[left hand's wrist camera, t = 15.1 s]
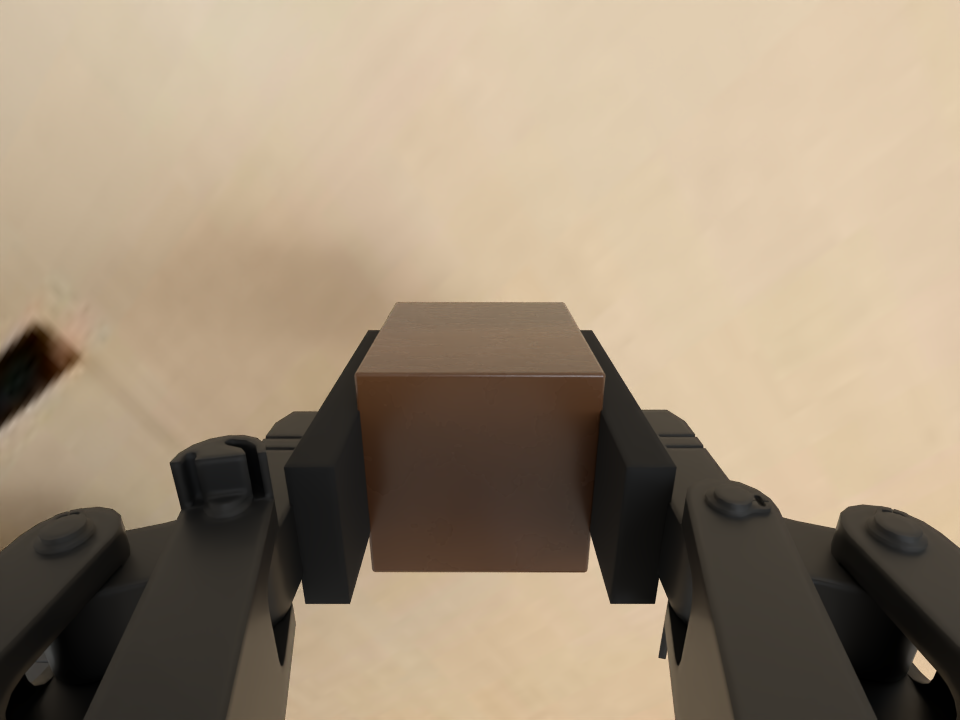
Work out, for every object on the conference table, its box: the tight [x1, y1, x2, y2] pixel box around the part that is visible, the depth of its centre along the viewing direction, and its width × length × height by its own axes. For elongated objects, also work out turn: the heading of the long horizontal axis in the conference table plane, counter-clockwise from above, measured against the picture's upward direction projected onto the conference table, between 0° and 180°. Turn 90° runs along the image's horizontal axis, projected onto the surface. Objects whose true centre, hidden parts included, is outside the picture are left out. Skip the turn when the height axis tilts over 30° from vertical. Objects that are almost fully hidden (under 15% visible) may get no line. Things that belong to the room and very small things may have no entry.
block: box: [354, 302, 605, 572], centre depth 13 cm, size 4×4×5 cm
